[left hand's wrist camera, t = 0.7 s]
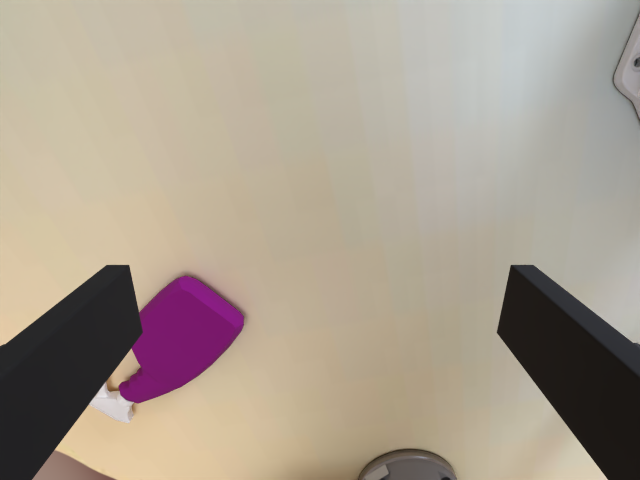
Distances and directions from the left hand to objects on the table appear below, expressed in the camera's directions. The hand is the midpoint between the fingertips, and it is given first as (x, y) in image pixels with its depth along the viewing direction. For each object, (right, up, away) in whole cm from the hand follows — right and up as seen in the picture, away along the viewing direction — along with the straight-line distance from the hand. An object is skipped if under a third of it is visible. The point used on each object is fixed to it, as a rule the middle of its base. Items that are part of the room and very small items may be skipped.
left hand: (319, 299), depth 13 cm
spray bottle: (-21, -12, +35) cm, 42 cm away
